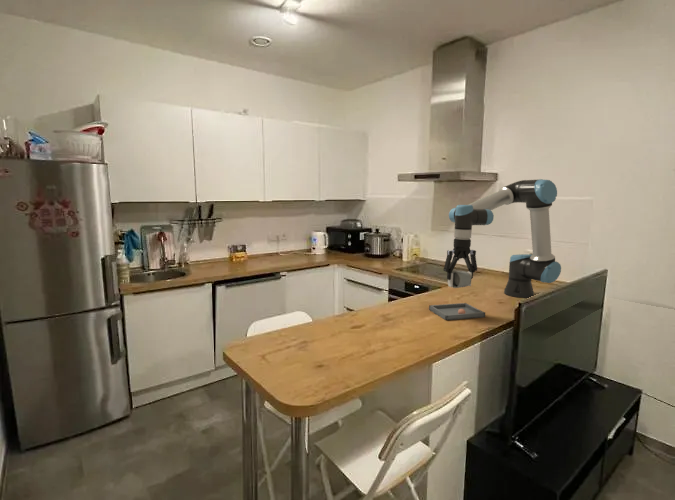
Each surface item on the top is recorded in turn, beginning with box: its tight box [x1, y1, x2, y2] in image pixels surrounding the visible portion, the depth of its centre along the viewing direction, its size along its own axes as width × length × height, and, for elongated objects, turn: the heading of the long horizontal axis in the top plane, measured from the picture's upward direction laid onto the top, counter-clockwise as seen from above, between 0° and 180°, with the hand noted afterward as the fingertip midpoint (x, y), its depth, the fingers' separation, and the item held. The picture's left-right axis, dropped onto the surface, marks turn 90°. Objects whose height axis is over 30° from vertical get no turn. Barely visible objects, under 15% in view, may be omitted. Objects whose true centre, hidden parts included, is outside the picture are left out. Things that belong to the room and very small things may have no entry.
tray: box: [428, 302, 486, 321], centre depth 177 cm, size 20×16×2 cm
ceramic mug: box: [447, 270, 472, 289], centre depth 176 cm, size 11×8×8 cm
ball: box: [458, 309, 465, 314], centre depth 172 cm, size 3×3×3 cm
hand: (459, 285), depth 175 cm, fingers closed on ceramic mug, 9 cm apart
